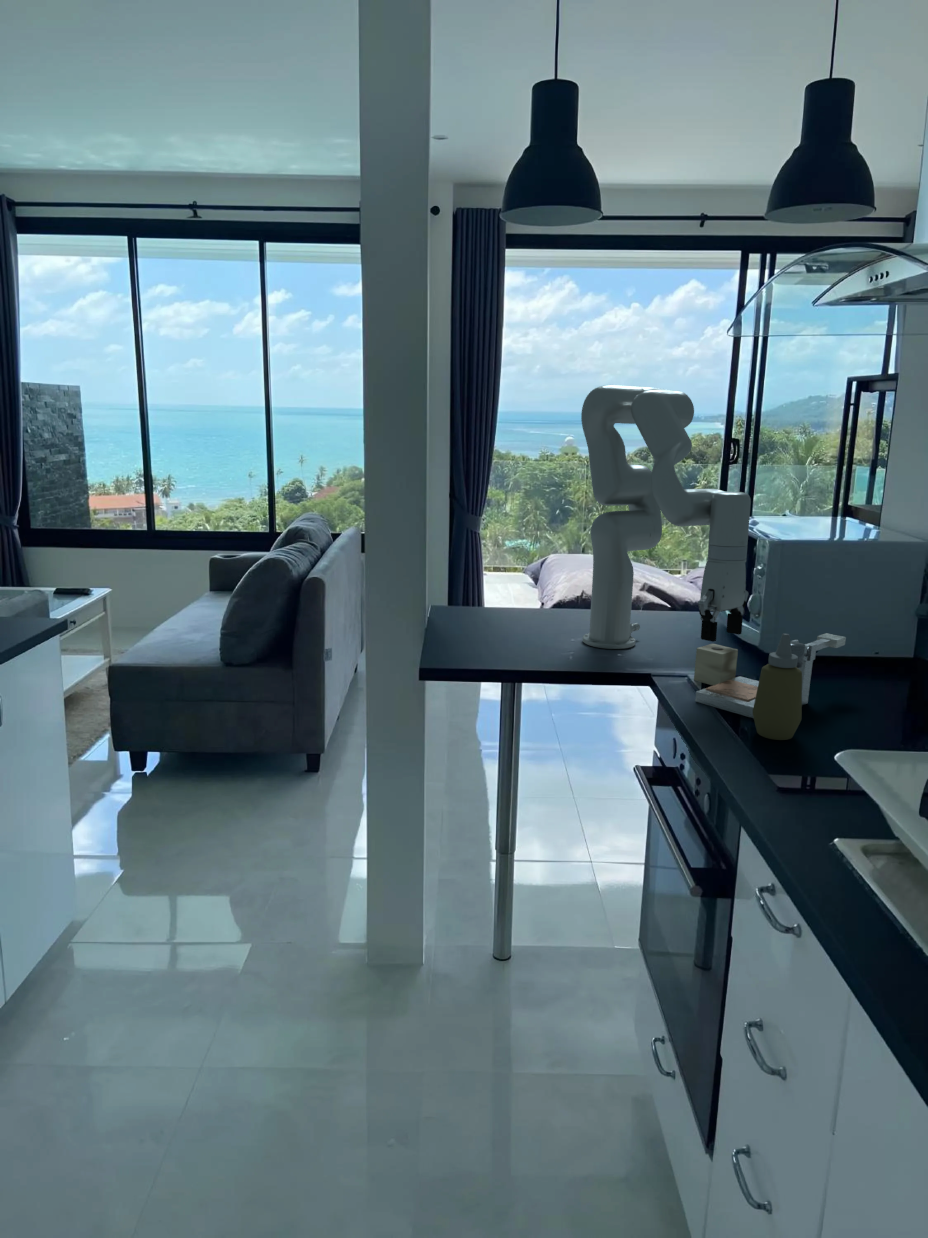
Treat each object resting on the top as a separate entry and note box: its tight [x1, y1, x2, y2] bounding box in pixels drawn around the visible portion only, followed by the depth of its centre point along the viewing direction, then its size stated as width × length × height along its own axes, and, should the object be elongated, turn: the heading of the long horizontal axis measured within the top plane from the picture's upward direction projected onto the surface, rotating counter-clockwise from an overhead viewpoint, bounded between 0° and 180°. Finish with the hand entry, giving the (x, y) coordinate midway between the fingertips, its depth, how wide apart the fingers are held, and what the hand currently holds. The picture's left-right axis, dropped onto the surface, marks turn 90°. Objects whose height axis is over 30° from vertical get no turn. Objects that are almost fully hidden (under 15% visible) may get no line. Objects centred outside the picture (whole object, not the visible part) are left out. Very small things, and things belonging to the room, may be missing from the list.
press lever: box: [790, 632, 847, 668], centre depth 168 cm, size 21×4×4 cm, turn 133°
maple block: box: [693, 643, 739, 686], centre depth 180 cm, size 6×6×7 cm
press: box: [694, 639, 817, 719], centre depth 166 cm, size 16×15×12 cm
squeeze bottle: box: [753, 633, 803, 741], centre depth 148 cm, size 8×8×18 cm
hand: (721, 636), depth 178 cm, fingers open, 9 cm apart
